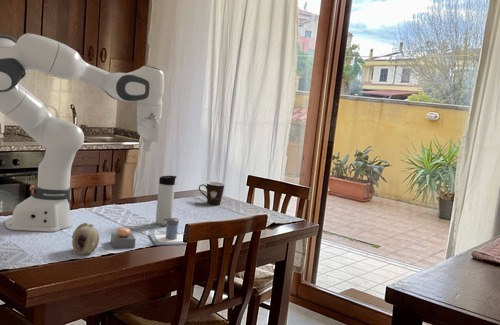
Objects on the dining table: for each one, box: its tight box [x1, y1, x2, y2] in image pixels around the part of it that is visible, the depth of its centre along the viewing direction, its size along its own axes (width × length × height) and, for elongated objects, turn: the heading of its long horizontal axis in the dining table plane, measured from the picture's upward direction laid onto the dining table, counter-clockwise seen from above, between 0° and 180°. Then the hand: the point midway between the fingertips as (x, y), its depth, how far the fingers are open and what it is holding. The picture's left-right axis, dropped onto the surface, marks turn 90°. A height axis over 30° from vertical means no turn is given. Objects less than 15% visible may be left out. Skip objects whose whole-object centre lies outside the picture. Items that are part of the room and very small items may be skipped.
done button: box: [116, 227, 131, 237], centre depth 179 cm, size 4×4×5 cm
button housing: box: [110, 232, 136, 249], centre depth 179 cm, size 7×7×3 cm
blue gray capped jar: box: [165, 217, 180, 240], centre depth 189 cm, size 4×4×7 cm
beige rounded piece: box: [71, 222, 100, 256], centre depth 167 cm, size 9×8×10 cm
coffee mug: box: [198, 181, 225, 206], centre depth 253 cm, size 12×9×10 cm
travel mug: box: [155, 175, 177, 227], centre depth 207 cm, size 6×7×20 cm
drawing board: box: [148, 233, 186, 246], centre depth 190 cm, size 14×11×1 cm
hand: (146, 150), depth 188 cm, fingers closed
